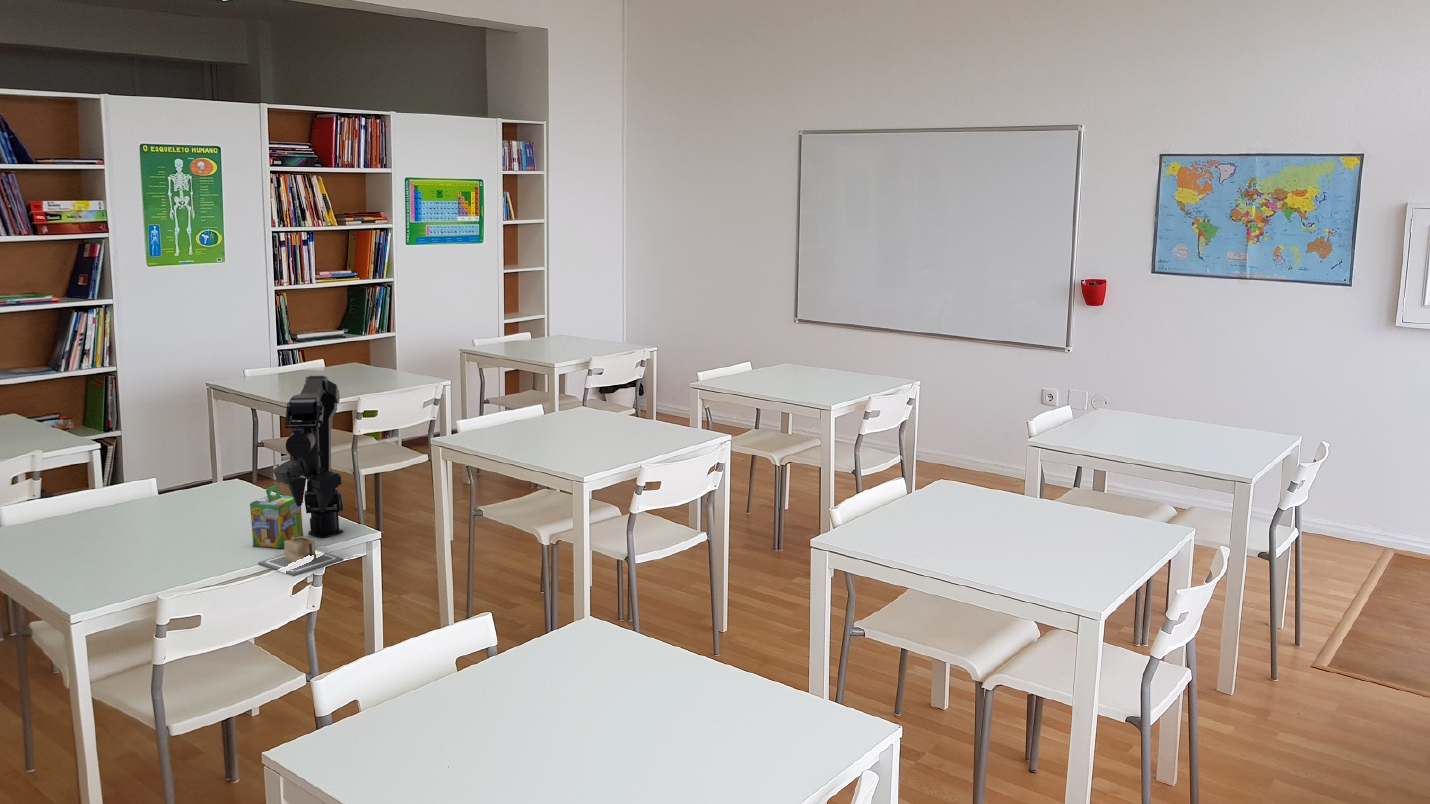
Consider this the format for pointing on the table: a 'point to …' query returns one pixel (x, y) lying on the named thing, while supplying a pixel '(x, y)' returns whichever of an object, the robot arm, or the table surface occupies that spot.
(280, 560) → the slate pad
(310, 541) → the letter cube
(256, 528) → the chalk box
